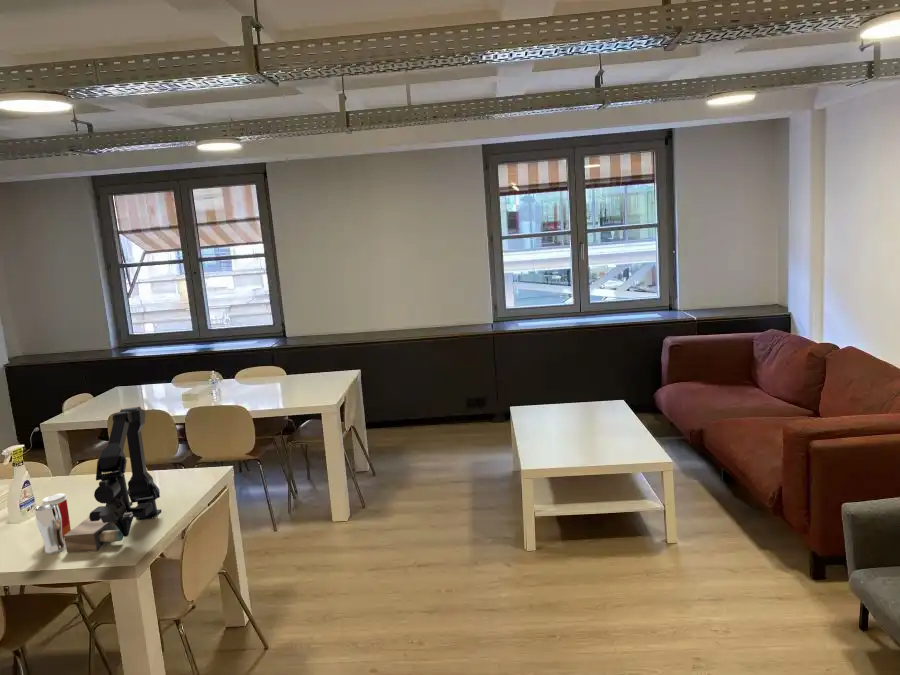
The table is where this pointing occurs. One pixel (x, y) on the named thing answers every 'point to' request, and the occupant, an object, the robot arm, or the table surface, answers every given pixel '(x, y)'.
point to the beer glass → (50, 527)
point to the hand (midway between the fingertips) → (126, 536)
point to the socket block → (86, 536)
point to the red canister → (62, 504)
